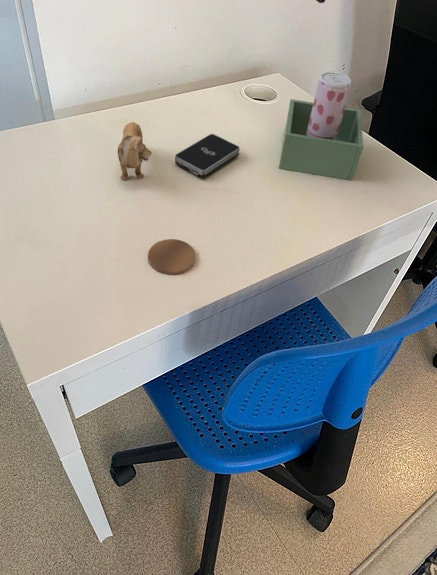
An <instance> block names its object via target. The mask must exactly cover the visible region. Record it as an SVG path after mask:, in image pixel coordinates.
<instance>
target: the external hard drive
mask: <svg viewBox="0 0 437 575" xmlns="http://www.w3.org/2000/svg"><path fill="white" fill-rule="evenodd" d="M239 155H240V146H239V145H237V144H236V143H233V142H232V141H229V140H227V139H225V138H223V137H221V136H219V135H217V134H214V133H210V134H208V135H206V136H204V137H202V138H201V139H199V140H197V141H196V142H195V143H193V144H191V145H189V146H187V147H186V148H184V149H182V150H181V151H179V152H176V154H175V155H174V162H175V165H177V166H178V167H180V168H182V169H184V170H186V171H187V172H190V173H192V174H193V175H195V176H197V177H199V178H201V179H205V178H206V177H208V176H209V175H211V174H212V173H214V172H215V171H217V170H218V169H220V168H221V167H223V166H224V165H226V164H228V163H229V162H230V161H232V160H234V159H236V158H237V157H238V156H239Z"/></svg>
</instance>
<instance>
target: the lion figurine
mask: <svg viewBox="0 0 437 575" xmlns="http://www.w3.org/2000/svg"><path fill="white" fill-rule="evenodd" d="M121 138H122V139H121V140H120V143H119V144H118V147H117V156H118V161H119V166H120V170H121V175H120V179H121V180H122V181H127V180H128V179H129V173H128V169H134V174H135V177H136V179H142V178H144V174H143V173H142V170H141V168H142V164H143V161H144V162H145V163H146V162H149V158H150V157H151V156H152V154H153V151H151V150H150V149H149V148H148V147H147V146H146V144H145V143H144V140H143V139H144V138H143V131H142V128H141V126H140V124H138V123H136V122H134V121H131V122H128V123H127V124H126V125H125V126H124V128H123V131H122V137H121Z"/></svg>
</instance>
